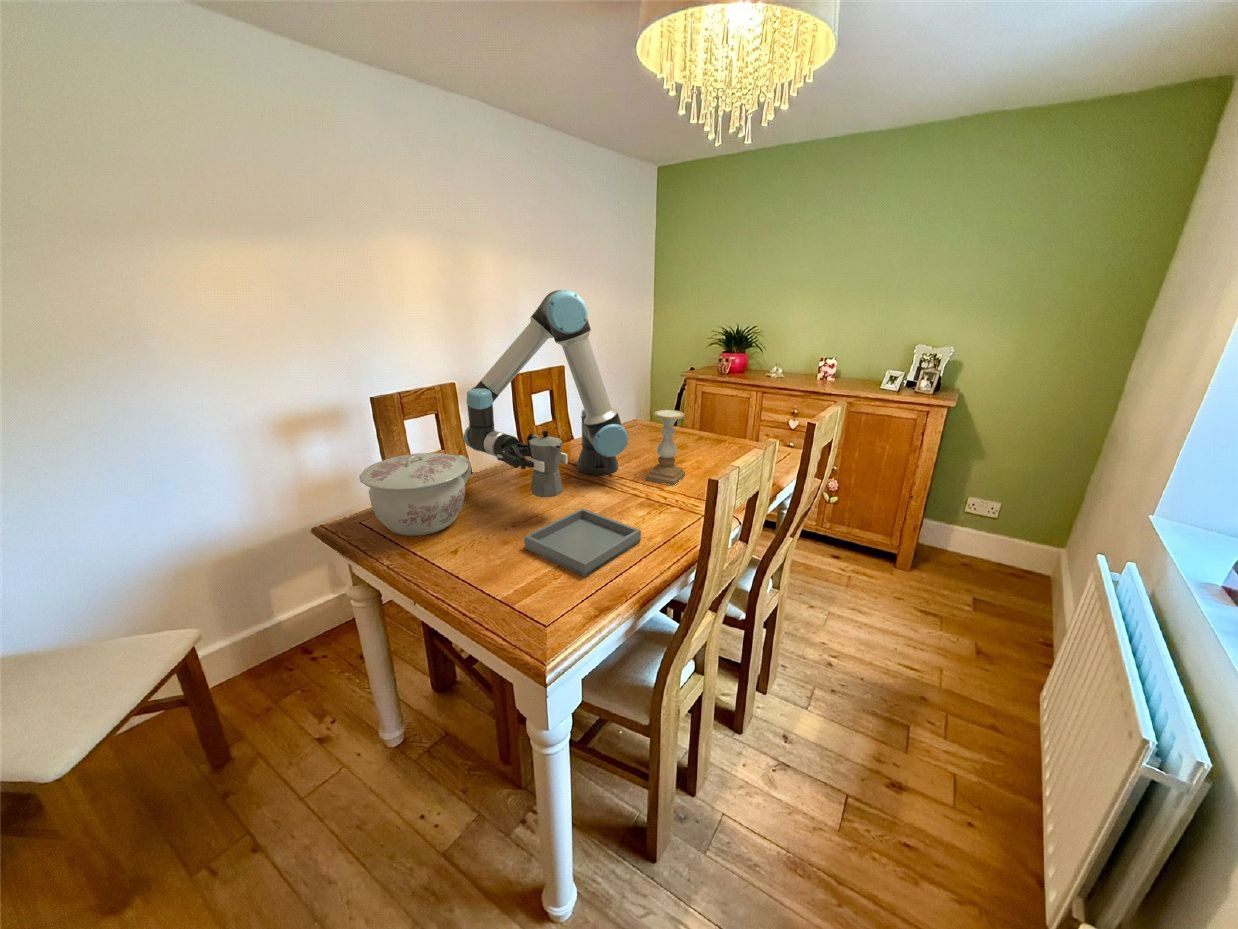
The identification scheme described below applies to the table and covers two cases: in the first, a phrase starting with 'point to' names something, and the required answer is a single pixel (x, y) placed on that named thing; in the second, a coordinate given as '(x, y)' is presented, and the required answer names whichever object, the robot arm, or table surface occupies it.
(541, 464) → the robot arm
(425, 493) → the chamber pot
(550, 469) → the coffeepot
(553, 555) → the charcoal dish
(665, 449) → the candle holder
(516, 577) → the table surface
